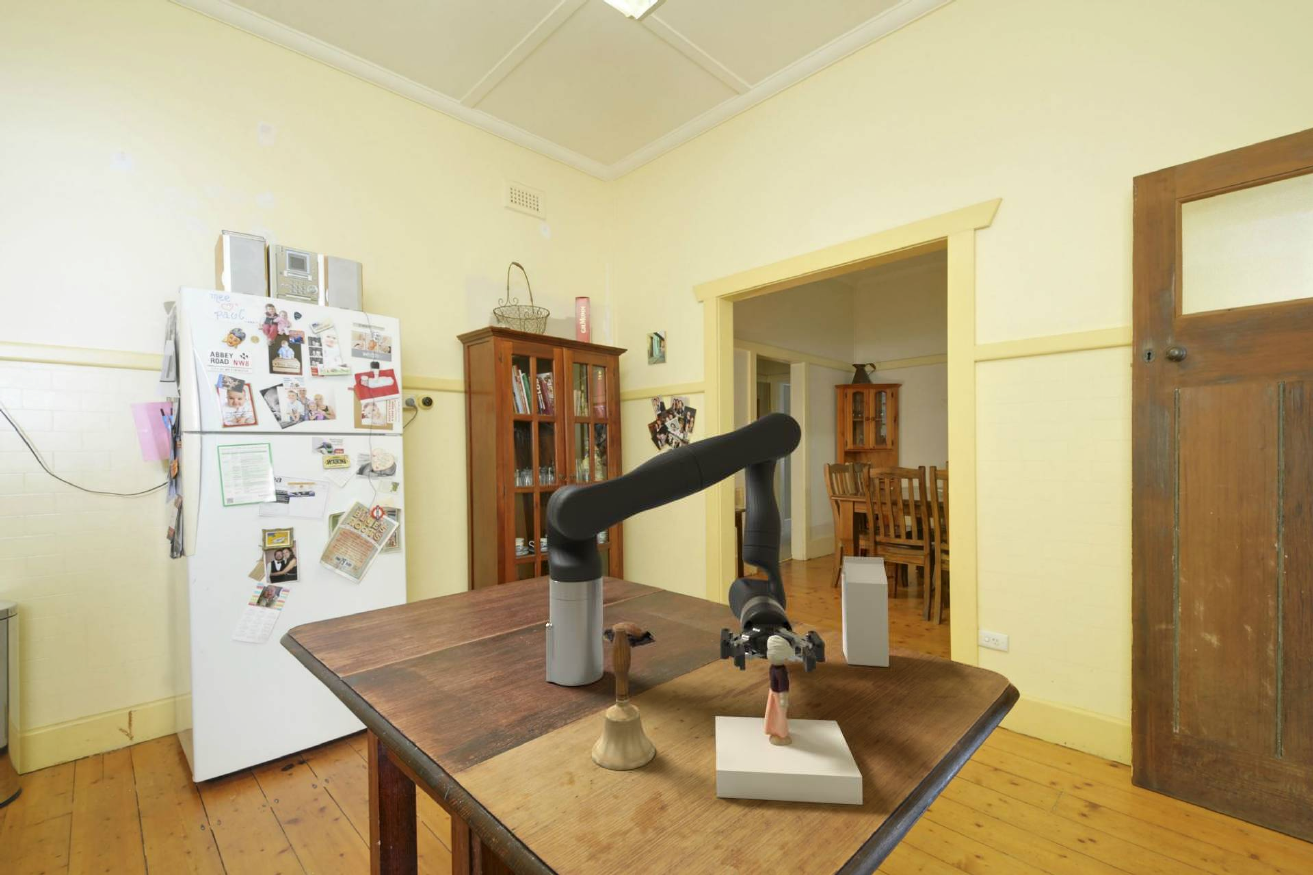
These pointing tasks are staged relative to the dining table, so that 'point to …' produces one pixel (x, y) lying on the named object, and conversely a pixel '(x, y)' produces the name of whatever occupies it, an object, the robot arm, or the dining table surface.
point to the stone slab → (785, 762)
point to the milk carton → (865, 611)
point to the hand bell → (622, 719)
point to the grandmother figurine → (778, 691)
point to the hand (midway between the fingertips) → (776, 664)
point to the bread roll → (629, 634)
